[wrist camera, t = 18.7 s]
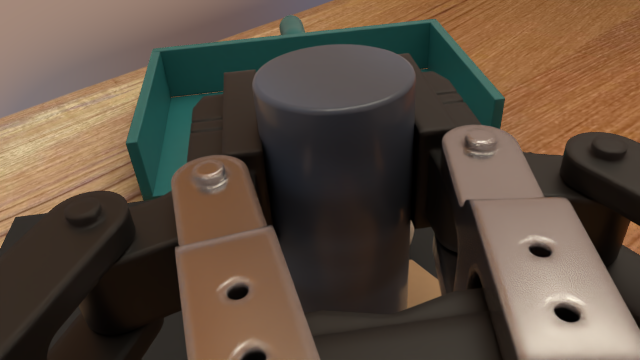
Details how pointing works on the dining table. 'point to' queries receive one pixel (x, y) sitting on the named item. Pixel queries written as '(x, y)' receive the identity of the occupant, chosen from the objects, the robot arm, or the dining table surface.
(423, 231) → the mat
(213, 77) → the dustpan
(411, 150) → the brush
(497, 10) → the dining table surface
